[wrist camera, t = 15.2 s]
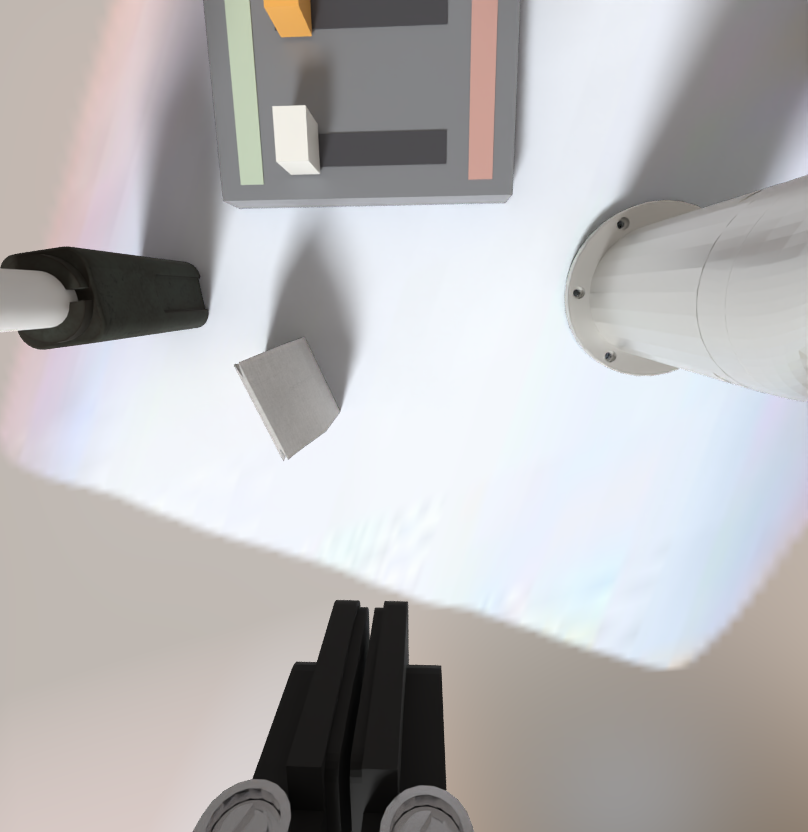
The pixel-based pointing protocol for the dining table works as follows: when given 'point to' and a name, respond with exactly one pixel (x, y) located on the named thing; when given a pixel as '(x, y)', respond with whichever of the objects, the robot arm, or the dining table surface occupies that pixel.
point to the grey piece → (289, 395)
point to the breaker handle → (290, 17)
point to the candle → (96, 296)
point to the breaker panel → (365, 103)
